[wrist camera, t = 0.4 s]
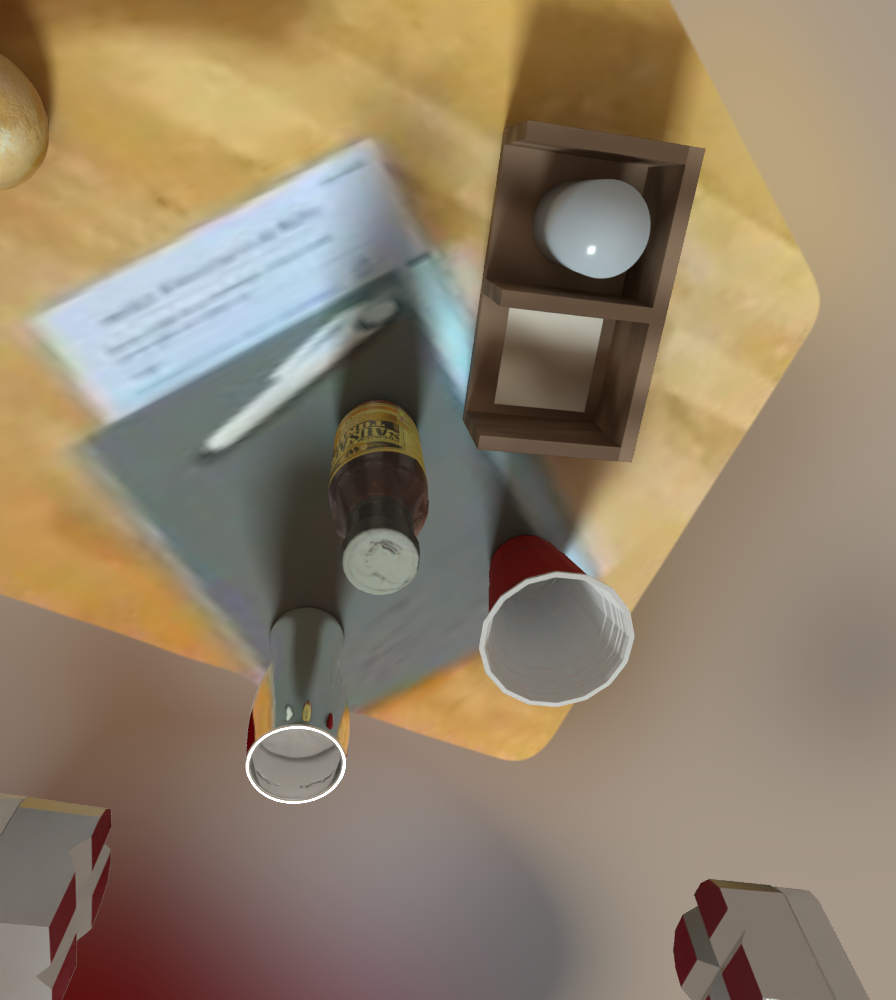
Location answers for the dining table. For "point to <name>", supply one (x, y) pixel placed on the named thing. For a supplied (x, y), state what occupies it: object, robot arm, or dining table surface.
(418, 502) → the sauce bottle
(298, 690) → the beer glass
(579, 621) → the plastic cup
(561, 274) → the walnut rail
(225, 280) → the dining table surface
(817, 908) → the robot arm
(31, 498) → the dining table surface
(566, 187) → the grey rounded cylinder
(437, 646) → the dining table surface
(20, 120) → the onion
